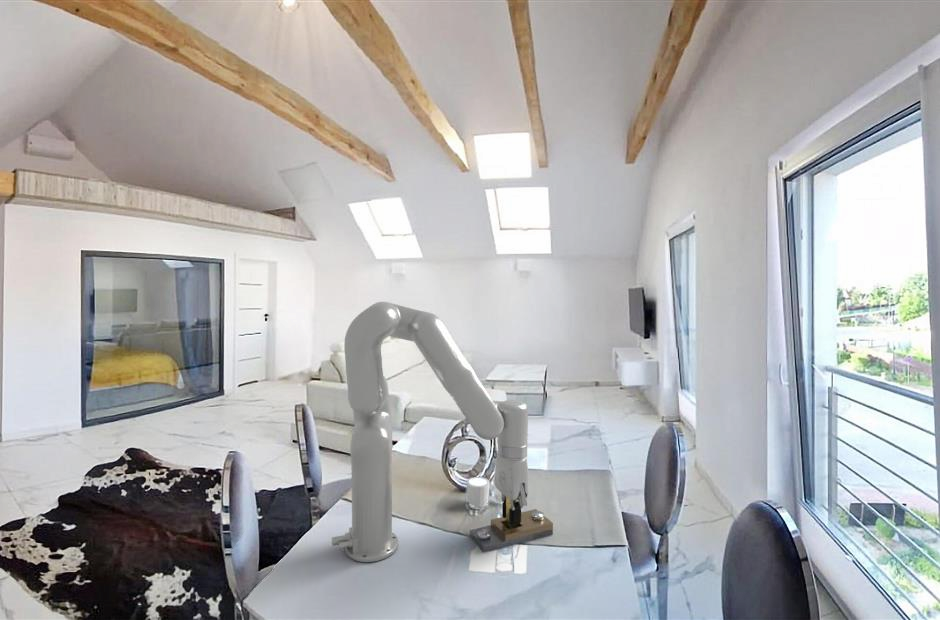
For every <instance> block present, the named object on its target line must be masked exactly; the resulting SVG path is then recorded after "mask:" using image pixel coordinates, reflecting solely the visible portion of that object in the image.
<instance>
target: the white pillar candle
mask: <svg viewBox="0 0 940 620" xmlns="http://www.w3.org/2000/svg"><path fill="white" fill-rule="evenodd" d="M490 485H491V483H490V480H489V479H487V478H485V477H482V476H481V477H480V476H474V477H470V478H468V479H467V480H466V492H467V493H466V494H467V502H469V503H470V504H472V505H474V506H476V507H483V506H486V505H487V506H488V504H489V502H488V501H489V493H490V492H489V491H490ZM487 503H488V504H487Z"/></svg>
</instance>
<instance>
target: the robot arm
mask: <svg viewBox="0 0 940 620" xmlns="http://www.w3.org/2000/svg"><path fill="white" fill-rule="evenodd" d="M389 337H392V338H397V339H400V340H405V341H408V342H413V343H414V344H415V345H416V347H417V348H418V350H419V351H420V353H421V355H422V356H423V358H424V359H425V360H426V362H427V363H428V366H429V367H430V368H431V370H432V371H433V373H434V374H435V376H436V377H437V379H438V380H439V382H440V383H441V385H442V387H443V388H444V389H445V391H446V392H447V393H448V394H449V396H450V397H451V398H452V400H454V402H455V404H456V406H457V408H458V409H459V411H461V414H462V415H463V416H464V418H465V419H466V421H467V422H468V424H469V426H470V427H471V428H472V430H473V432H474V433H475V435H476V436H478V437H479V438H481V439H482V440H485V441H486V440H487V441H491V440H495V439H497V453H496V454H497V455H496V459H495V467H494V487H495V488H496V490H498V491H499V492H500V493H501V501H502V506H501V507H502V508H501V509H502V510H501V511H502V513H501V514H502V516H501V517H503V518H506V497H507V498H508V499H509V500H511V509H509V524H510V525H513V524H517V523H520V522H521V512H522V509H523V507H525V506H528V500H527V498H528V496H529V467H528V459H527V458H528V442H529V441H528V437H529V436H528V435H529V434H528V430H529V429H528V428H529V426H528V425H529V407H528V404H527V403H526V402H523V401H522V400H521V401H520V400H517V399H515V400H514V399H510V400H509V399H507V400H504V401H499V400H492V398H491V396H490V395H489V393H488V392H487V390H486V388H484V386H483V384H482V383H481V381H480V379H479V378H478V376H477V374H476V372H475V370H474V368H473V366H472V365H471V363H470V361H468V359H467V357H466V356H465V354H464V353H463V351H462V350H461V348H460V347H459V345H458V343H457V342H456V340H455V339H454V337H453V335H452V334H451V332H450V331H449V329H448V328H447V327H446V325H445V323H444V322H443V321H442V319H441V318H440V317H439V316H437V315H436V314H434V313H431V312H428V311H423V310H419V309H414V308H410V307H407V306H403V305H399V304H396V303H392V302H389V301H378V302H375V303H373V304H371V305H370V306H368V307H367V308H366V309H364V310H363V311H362V312H360V313H359V314H357V316H356V317H355V318H354V319H353V320H352V321H351V322H350V324H349V326H348V328H347V330H346V333H345V337H344V347H343V348H344V358H345V359H344V362H345V374H346V375H345V376H346V385H347V400H348V404H349V406H350V407H351V409H352V412H353V420H354V423H353V424H354V428H353V432H352V434H351V438H350V465H351V469H350V470H351V527H349V528H348V532H345V533H344V534H343V535H336V536H332V537H331V546H332V547H335V546H338V550H343V549H345V553H346V556H347V557H348V558H350V559H352V560H353V561H357V562H361V563H373V562H378V561H382V560H384V559H387V558H389V557H390V556H392V555H393V554H394V553H396V551H397V549H398V546H399V538H398V535H396V534H395V533H394V532H392V531H393V482H392V480H393V477H392V476H393V472H392V470H393V467H392V466H393V464H392V463H393V423H392V414H391V404H390V403H391V402H390V394H389V386H388V381H387V378H386V377H385V376H384V371H383V357H382V345H383V343H384V341H385V340H386V339H387V338H389ZM515 500H518V502H516V503H515Z"/></svg>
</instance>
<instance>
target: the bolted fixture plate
mask: <svg viewBox="0 0 940 620" xmlns="http://www.w3.org/2000/svg"><path fill="white" fill-rule="evenodd" d="M553 531H554V522H553V521H551V520H550V519H549V518H548V517H546V516H545V513H544V512H543V511H541V510H538V509H536V508H535V509H531V510H526V511H521V522H520V523H518V525H517V528H513V529H509V530H508V529H507V528H506V518H503V517H502V516H501V517H497V518H496V517H495V518H492V519H490V525H486V526H481V527H477V528H473V529H469V537H470V538H471V539H472V540H473V542H474V543H475V544H476V545H477V547H478V548H479V549H480V550H481V552H483V554H484V553H488V552H492V551H496V550H500V549H503V548H508V547H510V546H513V545H518V544H522V543H526V542H529V541H533V540H537V539H540V538H544V537H549V536H551V535H554V533H553Z"/></svg>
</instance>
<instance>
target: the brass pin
mask: <svg viewBox="0 0 940 620" xmlns="http://www.w3.org/2000/svg"><path fill="white" fill-rule="evenodd" d="M516 502H518V500H515V503H516ZM509 509H511V500H509V499H508V498H507V497H506V528H507V529H508V530H509V529H513V528H517V525H518V523H517V524H513V525H510V524H509Z"/></svg>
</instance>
